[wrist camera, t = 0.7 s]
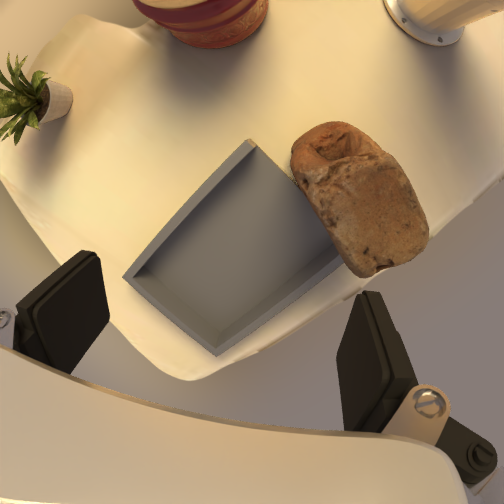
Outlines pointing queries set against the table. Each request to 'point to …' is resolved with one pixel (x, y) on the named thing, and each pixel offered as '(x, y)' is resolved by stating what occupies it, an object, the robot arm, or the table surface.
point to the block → (359, 197)
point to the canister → (206, 19)
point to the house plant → (31, 100)
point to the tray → (235, 252)
